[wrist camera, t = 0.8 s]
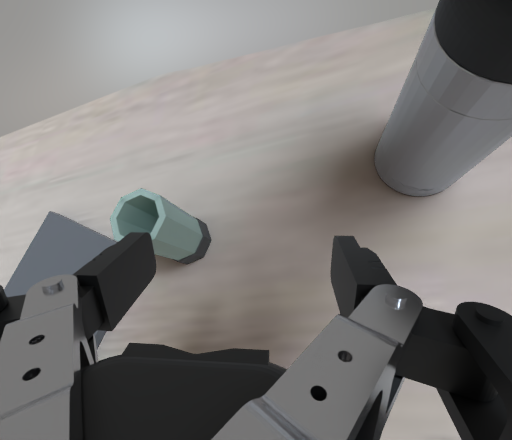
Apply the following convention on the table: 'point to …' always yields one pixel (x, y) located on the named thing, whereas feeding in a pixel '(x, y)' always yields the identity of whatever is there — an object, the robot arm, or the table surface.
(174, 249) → the sleeve
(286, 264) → the table surface
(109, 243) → the pin board
